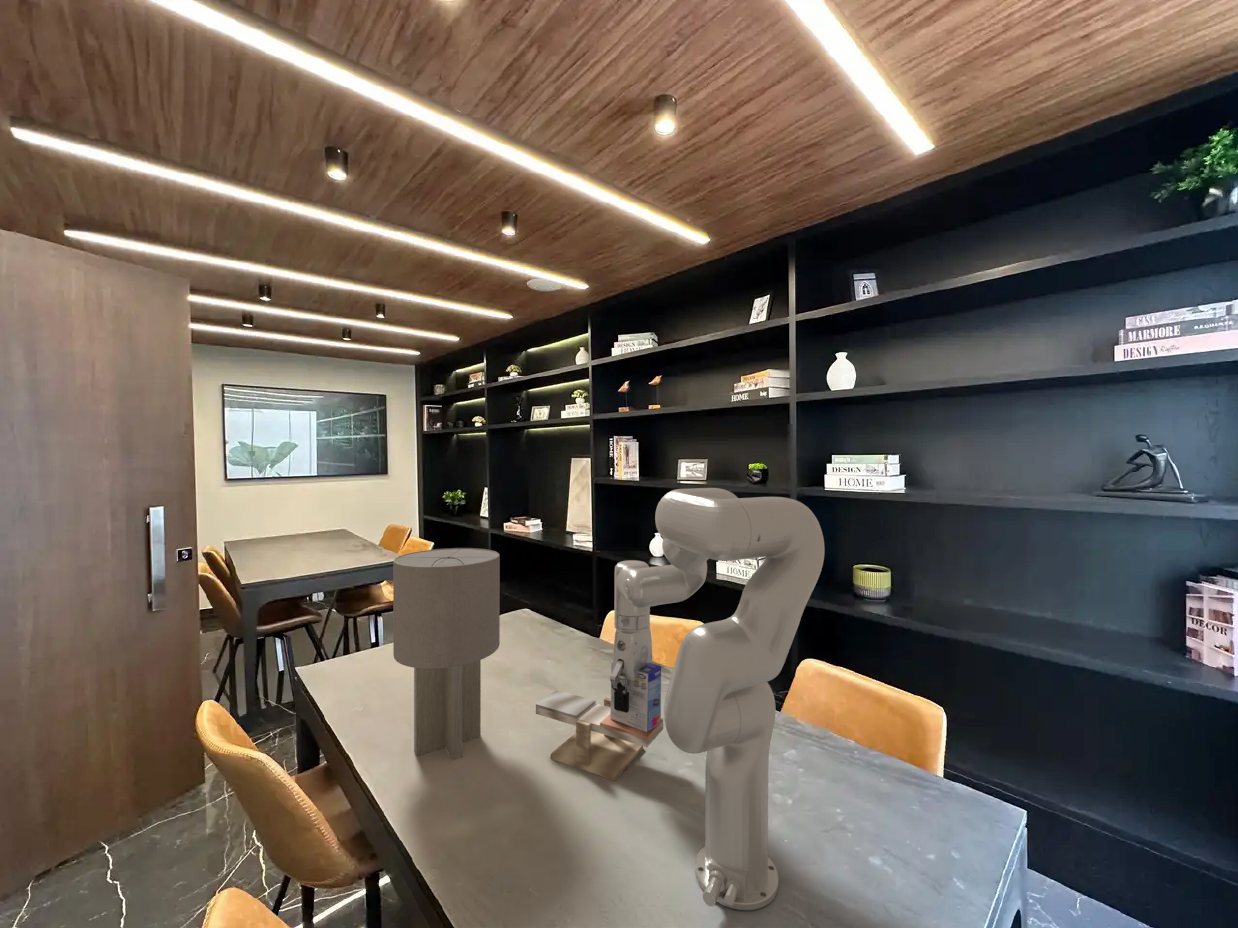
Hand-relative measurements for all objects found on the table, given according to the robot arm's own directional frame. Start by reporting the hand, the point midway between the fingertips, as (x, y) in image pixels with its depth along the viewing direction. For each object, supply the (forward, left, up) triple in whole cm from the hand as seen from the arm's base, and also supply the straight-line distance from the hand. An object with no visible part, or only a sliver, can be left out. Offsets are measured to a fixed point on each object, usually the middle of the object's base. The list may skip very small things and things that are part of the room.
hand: (631, 701), depth 108 cm
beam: (0, +8, -6) cm, 10 cm away
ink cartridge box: (0, -1, -4) cm, 4 cm away
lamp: (-13, +40, -14) cm, 45 cm away
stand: (0, +8, -14) cm, 16 cm away
